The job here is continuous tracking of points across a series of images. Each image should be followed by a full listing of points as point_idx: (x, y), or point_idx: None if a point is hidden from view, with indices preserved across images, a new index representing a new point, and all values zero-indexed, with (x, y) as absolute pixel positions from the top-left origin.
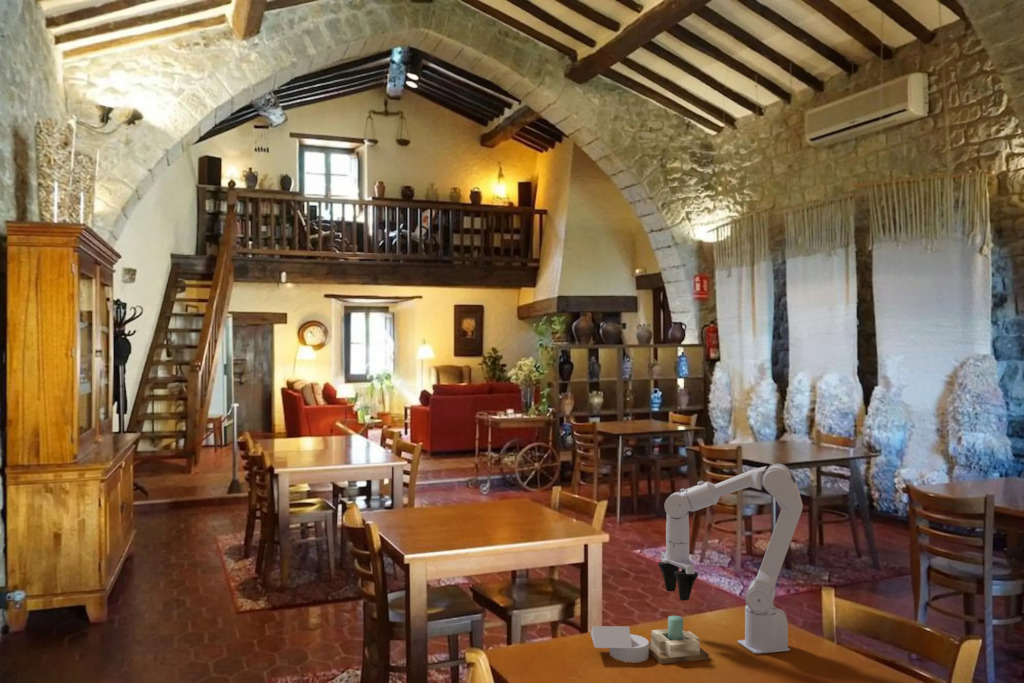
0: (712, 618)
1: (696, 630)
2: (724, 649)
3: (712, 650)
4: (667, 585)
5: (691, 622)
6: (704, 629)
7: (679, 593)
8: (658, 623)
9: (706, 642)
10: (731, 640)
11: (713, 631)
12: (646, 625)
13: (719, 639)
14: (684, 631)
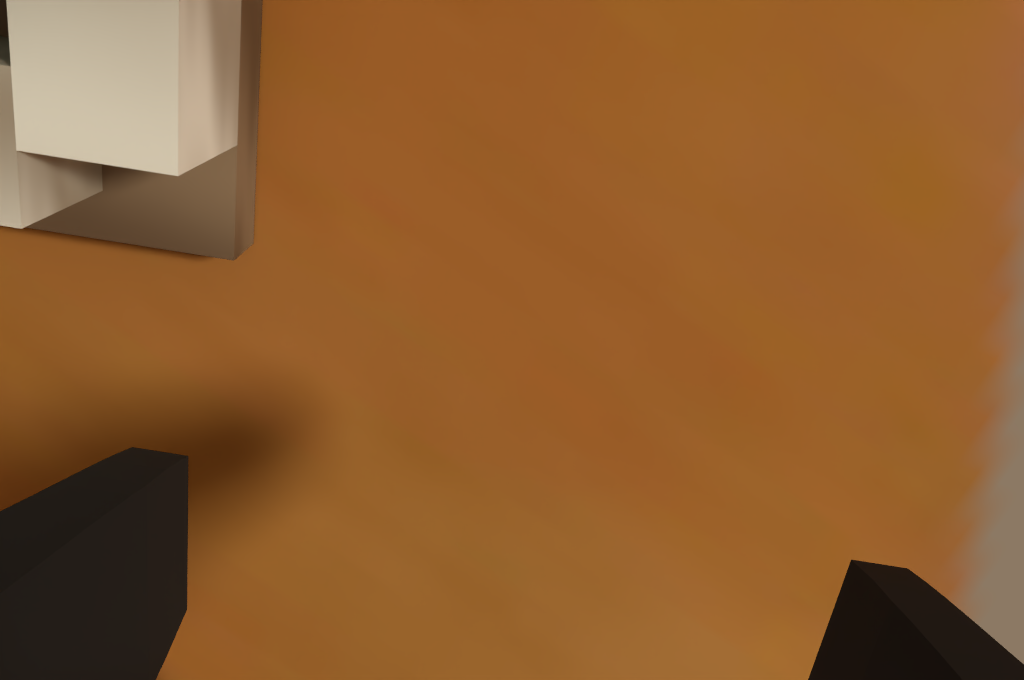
0: None
1: (578, 550)
2: (28, 477)
3: (22, 360)
4: (906, 661)
5: (797, 639)
6: (570, 629)
7: (62, 509)
8: (968, 315)
9: (241, 439)
10: (228, 662)
11: (489, 666)
12: (997, 131)
13: (281, 590)
14: (21, 148)
